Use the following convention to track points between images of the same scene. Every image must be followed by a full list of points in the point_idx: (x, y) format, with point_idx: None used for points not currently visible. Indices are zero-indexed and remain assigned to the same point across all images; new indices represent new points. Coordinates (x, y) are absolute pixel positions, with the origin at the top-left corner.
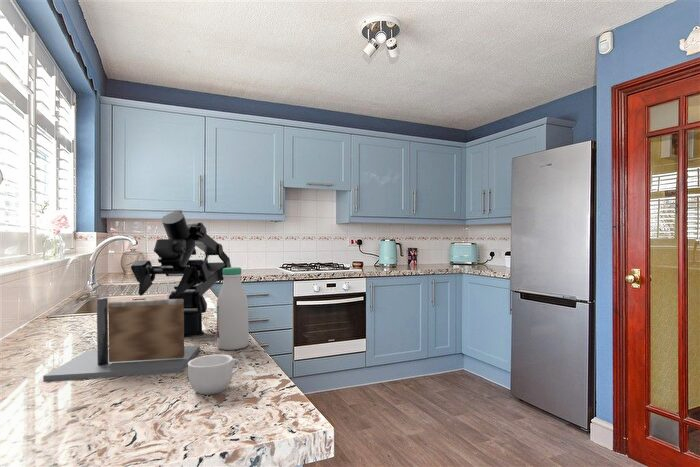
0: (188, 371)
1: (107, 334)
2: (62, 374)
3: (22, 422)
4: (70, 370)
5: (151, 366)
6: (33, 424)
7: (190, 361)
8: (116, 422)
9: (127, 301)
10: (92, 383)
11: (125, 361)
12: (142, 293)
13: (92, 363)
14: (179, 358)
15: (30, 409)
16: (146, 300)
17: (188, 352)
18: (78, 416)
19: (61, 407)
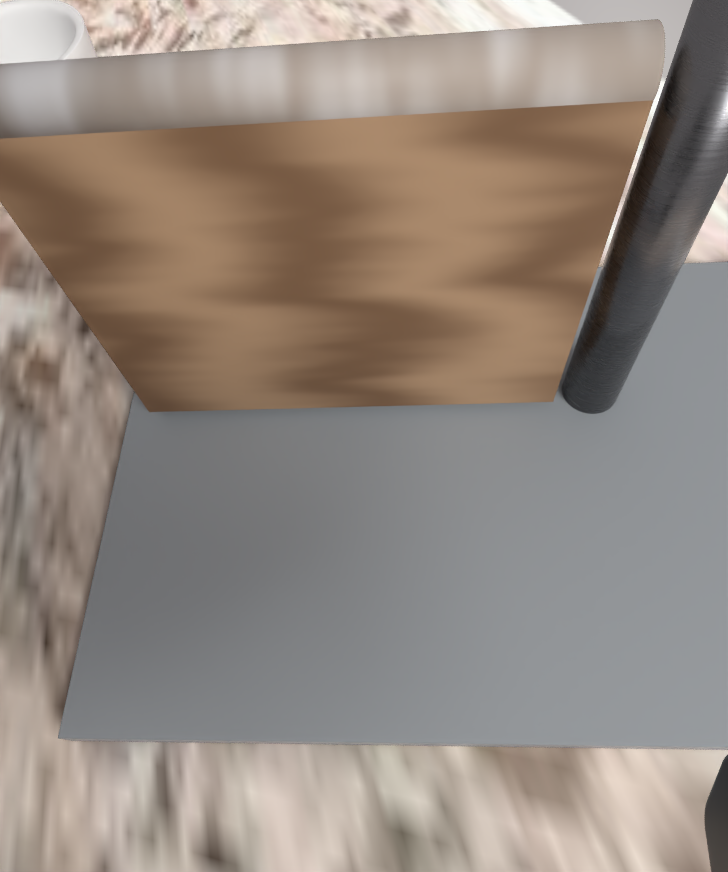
0: (93, 46)
1: (602, 272)
2: (694, 265)
3: (531, 19)
4: (701, 313)
5: None
6: (492, 11)
7: (74, 41)
8: (287, 11)
9: (470, 32)
10: None
11: (477, 414)
12: (720, 861)
13: (661, 406)
14: (180, 418)
15: None
16: (284, 46)
17: (136, 536)
18: (400, 35)
19: None
